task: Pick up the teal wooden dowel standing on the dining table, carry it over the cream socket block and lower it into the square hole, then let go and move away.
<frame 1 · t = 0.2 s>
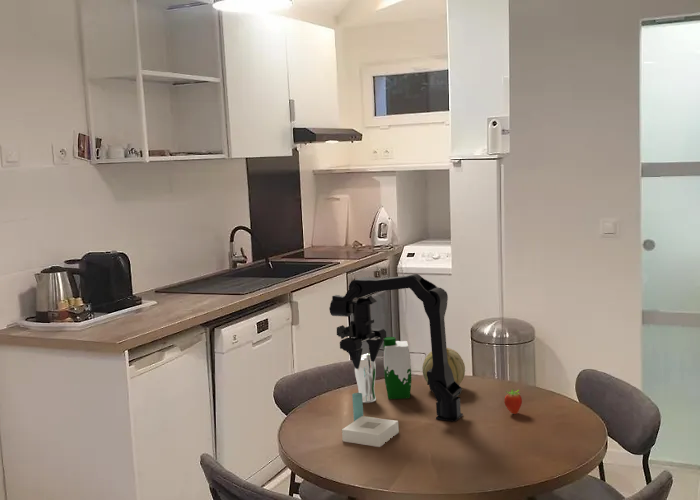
hand: (365, 364, 238), 14 cm above the table, tool pointing down, fingers open, 9 cm apart
milk carton: (398, 396, 251), on the table
peg: (358, 422, 227), on the table
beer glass: (366, 400, 248), on the table
fruit: (513, 414, 227), on the table
cantaloupe: (444, 390, 255), on the table
socket block: (370, 436, 215), on the table
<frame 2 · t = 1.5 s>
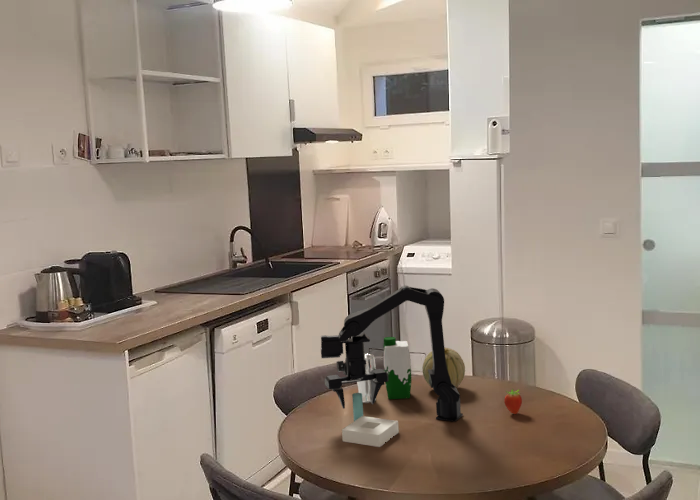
hand: (358, 406, 226), 5 cm above the table, tool pointing down, fingers open, 9 cm apart
nothing on the table moved.
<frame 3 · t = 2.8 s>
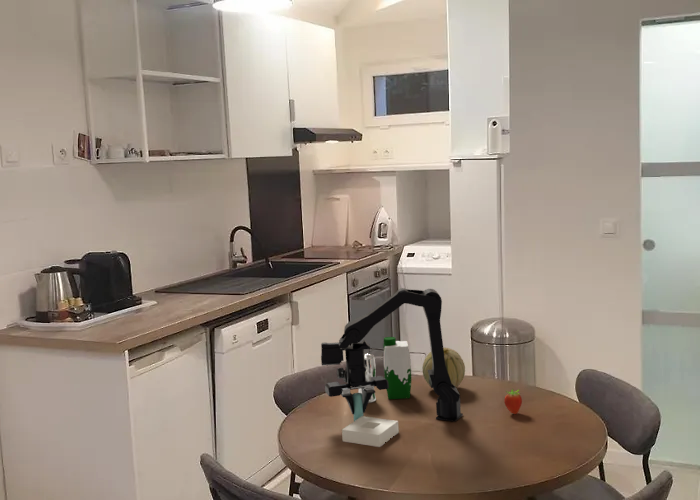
hand: (358, 413, 227), 3 cm above the table, tool pointing down, fingers closed on peg, 3 cm apart
peg: (358, 422, 227), on the table, touching gripper
everything else where it was.
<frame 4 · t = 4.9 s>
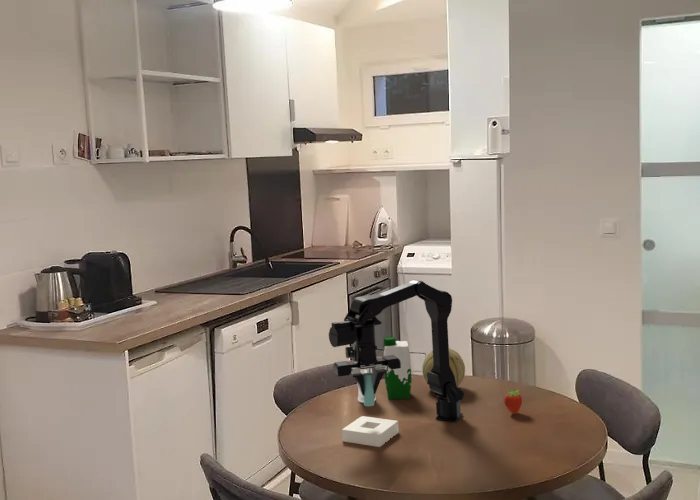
hand: (368, 394, 213), 13 cm above the table, tool pointing down, fingers closed on peg, 3 cm apart
peg: (369, 404, 214), point 10 cm above the table, touching gripper
everything else where it was.
when the fingers open (5 cm above the table, at t = 6.8 s): peg drops 2 cm, resting in socket block.
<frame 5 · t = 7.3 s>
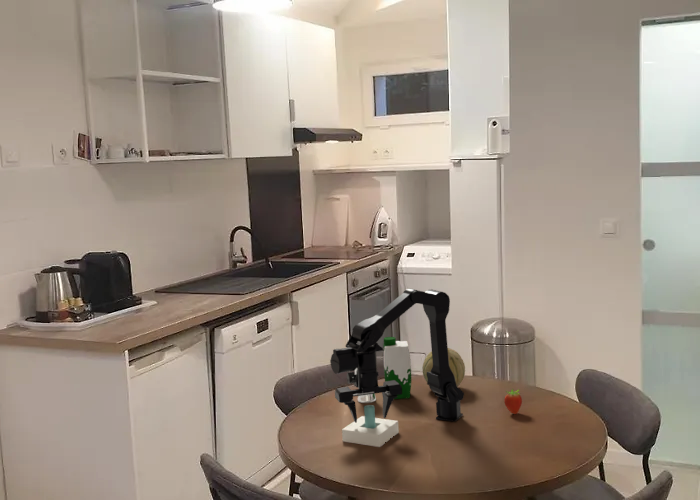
hand: (370, 420, 214), 5 cm above the table, tool pointing down, fingers open, 8 cm apart
peg: (370, 436, 215), resting in socket block
everything else where it was.
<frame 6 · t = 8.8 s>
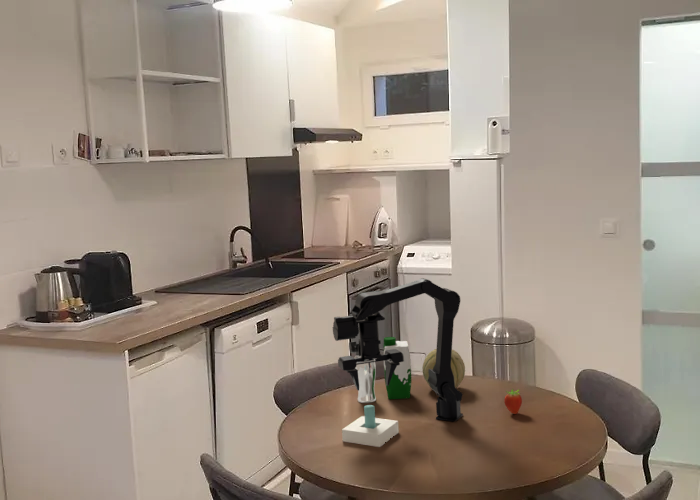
hand: (372, 387, 219), 13 cm above the table, tool pointing down, fingers open, 9 cm apart
nothing on the table moved.
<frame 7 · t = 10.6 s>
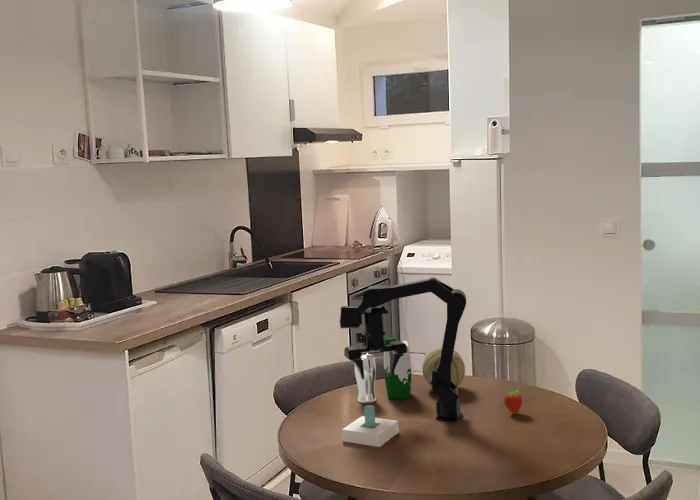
hand: (377, 377, 229), 13 cm above the table, tool pointing down, fingers open, 9 cm apart
nothing on the table moved.
at the end: peg 0.0 cm off-centre on the socket block, point 0.0 cm above the socket block's base; peg tilted 0°; the gripper is holding nothing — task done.
